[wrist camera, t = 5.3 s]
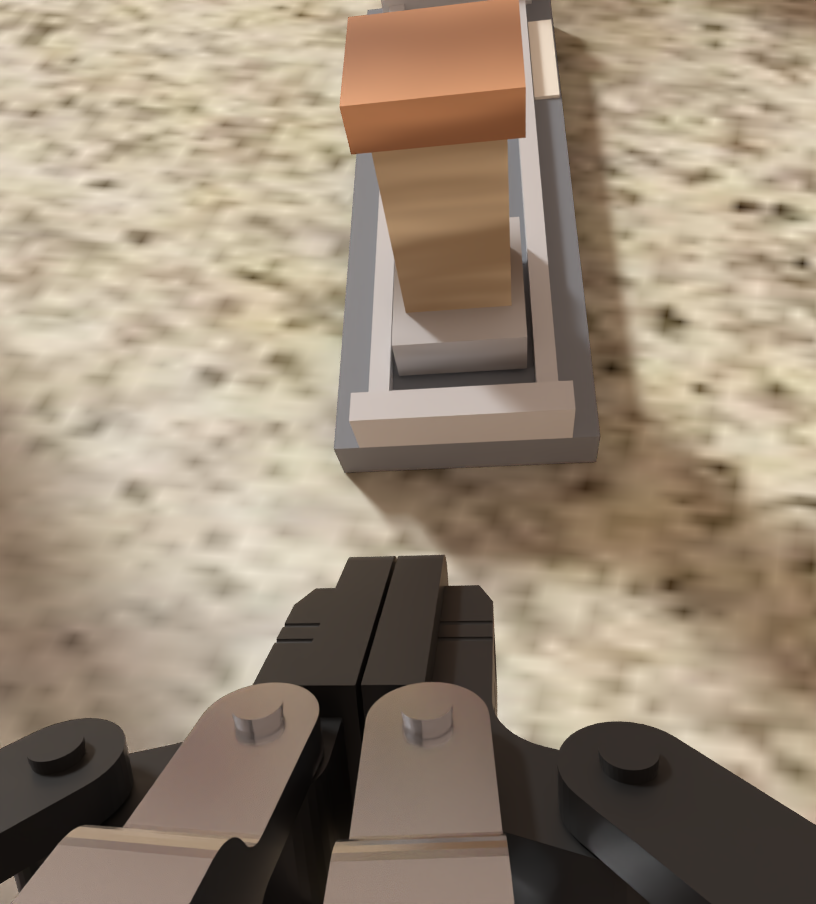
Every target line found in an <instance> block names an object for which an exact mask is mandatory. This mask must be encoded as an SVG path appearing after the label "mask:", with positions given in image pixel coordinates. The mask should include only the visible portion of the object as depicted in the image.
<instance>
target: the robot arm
mask: <svg viewBox="0 0 816 904" xmlns="http://www.w3.org/2000/svg"><path fill="white" fill-rule="evenodd" d="M12 876H14V877H15V881H16V885H17V888H18V892H19V894H18V895H17V897H16V898H15V899H14V900H13V902H12V903H11V904H816V825H815V824H813V823H812V822H810V821H808V820H807V819H805V818H804V817H802V816H800V815H799V814H797V813H796V812H794V811H792V810H791V809H789V808H788V807H786V806H784V805H783V804H781V803H780V802H778V801H776V800H775V799H773V798H772V797H770V796H768V795H767V794H765V793H764V792H762V791H760V790H759V789H757V788H756V787H754V786H752V785H751V784H749V783H748V782H746V781H744V780H743V779H741V778H740V777H738V776H736V775H735V774H733V773H732V772H730V771H728V770H727V769H725V768H724V767H722V766H720V765H719V764H717V763H716V762H714V761H712V760H711V759H709V758H708V757H706V756H705V755H703V754H701V753H700V752H698V751H697V750H695V749H693V748H692V747H690V746H689V745H687V744H685V743H684V742H682V741H681V740H679V739H677V738H676V737H674V736H672V735H670V734H668V733H667V732H664V731H662V730H659V729H657V728H654V727H651V726H647V725H644V724H638V723H633V722H604V723H597V724H594V725H590V726H587V727H585V728H582V729H580V730H578V731H576V732H575V733H573V734H572V735H570V736H569V737H568V738H567V739H566V740H565V741H564V743H563V744H562V746H561V747H560V750H556V749H552V748H548V747H544V746H541V745H537V744H534V743H531V742H529V741H526V740H524V739H522V738H520V737H518V736H517V735H515V734H513V733H512V732H511V731H509V730H508V729H507V728H506V727H505V726H504V725H503V724H502V723H501V722H500V721H499V719H498V718H497V675H496V655H495V634H494V613H493V601H492V600H491V599H490V597H489V596H488V595H487V594H486V593H485V592H484V590H483V589H482V588H481V587H480V586H479V585H472V586H448V573H447V562H446V557H445V555H422V556H398V558H396V556H386V557H350V558H349V559H348V560H347V563H346V565H345V567H344V570H343V572H342V574H341V576H340V579H339V581H338V583H337V586H336V588H320V589H315V590H313V591H312V592H311V593H309V594H308V595H307V596H305V597H304V598H303V599H302V600H300V601H299V602H298V603H296V604H295V605H294V607H293V609H292V611H291V612H290V614H289V616H288V618H287V620H286V622H285V627H283V628H282V630H281V632H280V634H279V636H278V637H277V643H274V645H273V647H272V649H271V651H270V653H269V655H268V657H267V659H266V660H265V662H264V664H263V666H262V668H261V670H260V672H259V674H258V676H257V678H256V680H255V682H254V683H253V685H251V686H248V687H244V688H241V689H238V690H236V691H233V692H231V693H229V694H227V695H225V696H223V697H222V698H220V699H219V700H217V701H216V702H214V703H213V704H212V705H211V706H210V707H209V708H208V709H207V710H206V711H205V712H204V714H203V715H202V716H201V718H200V719H199V720H198V722H197V723H196V725H195V726H194V728H193V729H192V730H191V732H190V733H189V735H188V736H187V737H186V739H185V740H184V742H181V743H177V744H173V745H168V746H164V747H159V748H154V749H149V750H145V751H140V752H135V753H130V754H129V753H128V748H127V744H126V739H125V735H124V733H123V730H122V729H121V728H120V727H119V726H118V725H116V724H115V723H113V722H110V721H108V720H103V719H96V718H84V719H75V720H69V721H65V722H61V723H57V724H54V725H51V726H48V727H45V728H43V729H41V730H39V731H36V732H34V733H32V734H30V735H28V736H26V737H24V738H22V739H20V740H18V741H16V742H14V743H11V744H9V745H7V746H5V747H3V748H1V749H0V884H1V883H2V882H4V881H6V880H7V879H9V878H11V877H12Z"/></svg>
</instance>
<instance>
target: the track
mask: <svg viewBox="0 0 816 904" xmlns="http://www.w3.org/2000/svg"><path fill="white" fill-rule="evenodd" d="M479 1H487V0H381V3H382V9H373V10H368V12H367V15H370V14H379V13H387V12H395V11H404V10H412V9H420V8H429V7H437V6H445V5H454V4H462V3H470V2H479ZM519 9H520V22H521V34H522V47H523V59H524V71H525V84H526V138H517V139H507V142H508V182H509V217H519V220H520V236H521V251H522V266H523V281H524V296H525V311H526V326H527V368H526V369H509V370H492V371H475V372H458V373H441V374H423V375H406V376H399V373H398V369H397V365H396V361H395V357H394V353H393V349H392V322H393V296H394V270H395V260H394V255H393V251H392V246H391V241H390V237H389V232H388V227H387V223H386V218H385V213H384V209H383V204H382V199H381V195H380V190H379V185H378V181H377V176H376V171H375V167H374V162H373V157H372V153H362V154H357V155H356V168H355V181H354V194H353V207H352V220H351V233H350V246H349V259H348V272H347V285H346V298H345V311H344V324H343V337H342V350H341V363H340V376H339V389H338V402H337V415H336V428H335V441H334V450H335V452H336V455H337V457H338V459H339V461H340V464H341V466H342V468H343V470H344V472H345V473H347V472H370V471H393V470H417V469H440V468H463V467H487V466H510V465H533V464H556V463H580V462H596V458H597V452H598V447H599V441H600V430H599V421H598V413H597V404H596V395H595V386H594V377H593V369H592V360H591V351H590V342H589V334H588V325H587V316H586V307H585V298H584V290H583V281H582V272H581V263H580V255H579V246H578V237H577V228H576V220H575V211H574V202H573V193H572V184H571V176H570V167H569V158H568V149H567V141H566V132H565V123H564V114H563V105H562V97H561V88H560V79H559V70H558V62H557V53H556V44H555V35H554V26H553V18H552V9H551V0H519Z"/></svg>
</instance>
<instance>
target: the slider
mask: <svg viewBox="0 0 816 904" xmlns="http://www.w3.org/2000/svg"><path fill="white" fill-rule="evenodd" d="M340 110H341V114H342V119H343V123H344V127H345V131H346V135H347V139H348V143H349V147H350V152H351V154H362V153H372V157H373V162H374V167H375V171H376V176H377V181H378V185H379V190H380V195H381V199H382V204H383V209H384V213H385V218H386V223H387V227H388V232H389V237H390V241H391V246H392V251H393V255H394V260H395V270H394V296H393V322H392V349H393V353H394V357H395V361H396V365H397V369H398V373H399V376H406V375H423V374H441V373H458V372H475V371H492V370H509V369H526V368H527V326H526V311H525V296H524V281H523V266H522V251H521V236H520V220H519V217H509V182H508V142H507V139H517V138H526V84H525V71H524V59H523V47H522V34H521V22H520V9H519V0H487V1H479V2H470V3H462V4H454V5H445V6H437V7H429V8H420V9H412V10H404V11H395V12H387V13H379V14H370V15H362V16H354V17H348V24H347V35H346V45H345V55H344V66H343V76H342V86H341V97H340Z"/></svg>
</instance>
